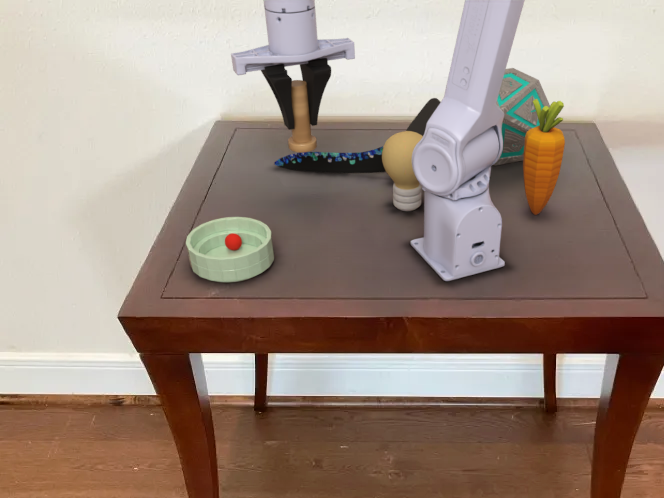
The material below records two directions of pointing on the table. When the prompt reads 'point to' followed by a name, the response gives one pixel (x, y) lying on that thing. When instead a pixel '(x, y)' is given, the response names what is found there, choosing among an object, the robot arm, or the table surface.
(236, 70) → the robot arm
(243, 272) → the bowl
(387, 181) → the table surface
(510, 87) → the sculpture
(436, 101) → the smartphone
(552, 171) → the carrot
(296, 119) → the pestle
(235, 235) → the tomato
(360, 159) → the knife
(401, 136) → the light bulb
